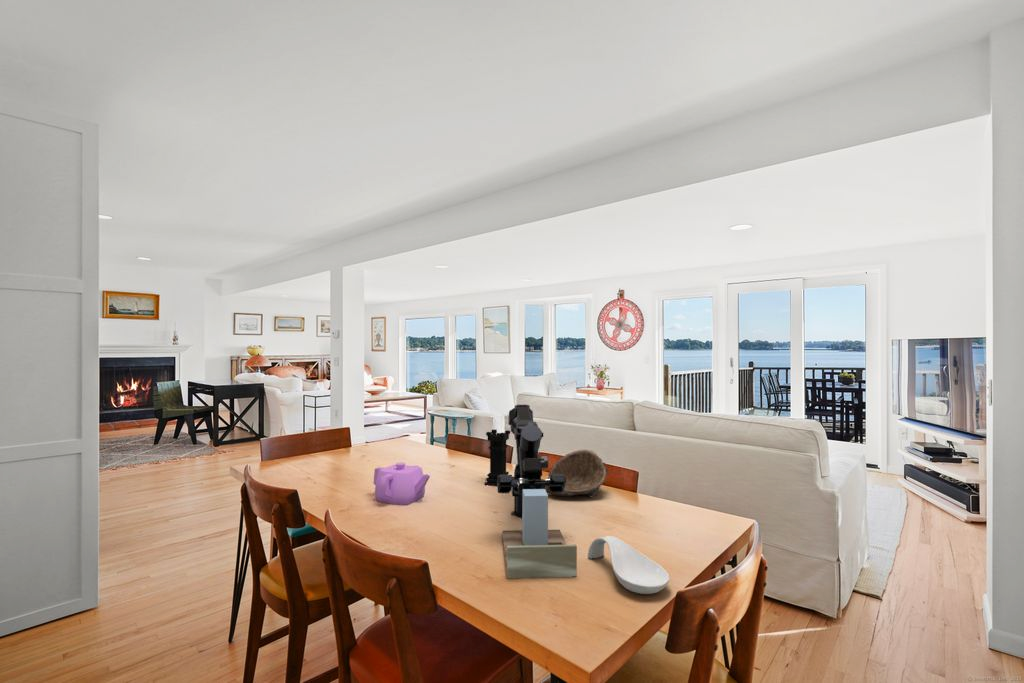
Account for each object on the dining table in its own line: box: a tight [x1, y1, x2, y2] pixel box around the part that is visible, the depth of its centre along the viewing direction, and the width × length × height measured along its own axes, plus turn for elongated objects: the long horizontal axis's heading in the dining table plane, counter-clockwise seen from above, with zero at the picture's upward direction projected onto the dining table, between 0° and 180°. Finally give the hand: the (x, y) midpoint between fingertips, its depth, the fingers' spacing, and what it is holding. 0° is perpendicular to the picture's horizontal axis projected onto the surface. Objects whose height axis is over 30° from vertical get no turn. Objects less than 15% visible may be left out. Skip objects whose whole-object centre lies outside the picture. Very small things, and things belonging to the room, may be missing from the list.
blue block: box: [521, 489, 549, 546], centre depth 130 cm, size 6×6×13 cm
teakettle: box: [373, 462, 431, 506], centre depth 173 cm, size 17×17×12 cm
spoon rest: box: [587, 535, 671, 595], centre depth 115 cm, size 24×12×7 cm, turn 26°
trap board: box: [501, 529, 578, 579], centre depth 126 cm, size 24×16×7 cm, turn 4°
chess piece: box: [484, 429, 511, 487], centre depth 192 cm, size 8×8×20 cm
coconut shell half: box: [545, 449, 609, 497], centre depth 180 cm, size 15×16×25 cm
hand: (533, 512), depth 133 cm, fingers closed
